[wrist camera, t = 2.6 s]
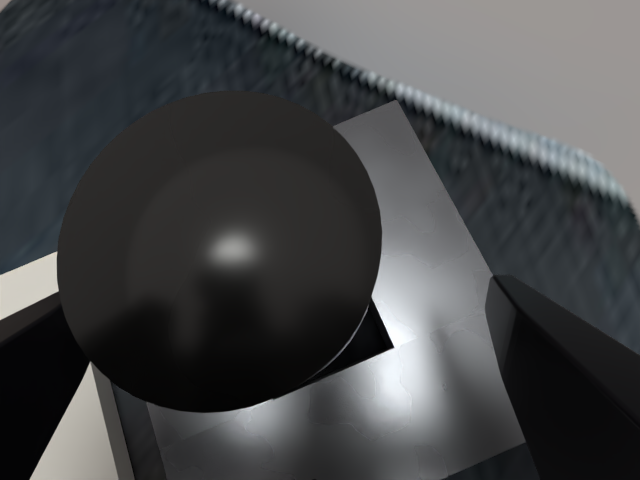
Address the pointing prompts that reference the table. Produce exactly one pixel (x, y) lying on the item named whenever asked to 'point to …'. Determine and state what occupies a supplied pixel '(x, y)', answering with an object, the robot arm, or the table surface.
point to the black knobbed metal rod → (219, 252)
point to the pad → (87, 404)
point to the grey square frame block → (378, 355)
